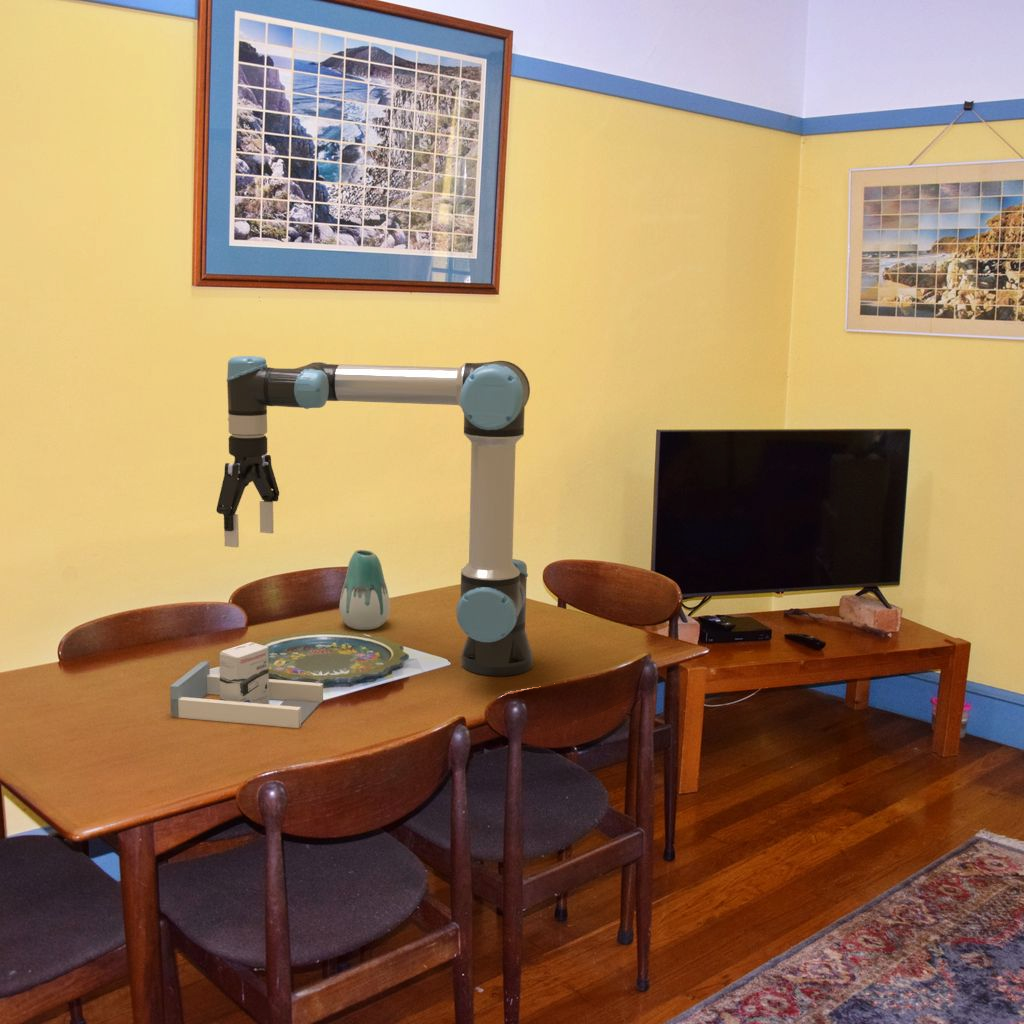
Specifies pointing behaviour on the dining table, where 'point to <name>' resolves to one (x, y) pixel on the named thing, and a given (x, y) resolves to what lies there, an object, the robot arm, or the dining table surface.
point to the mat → (302, 707)
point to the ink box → (245, 674)
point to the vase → (364, 593)
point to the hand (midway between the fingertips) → (249, 539)
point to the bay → (202, 682)
